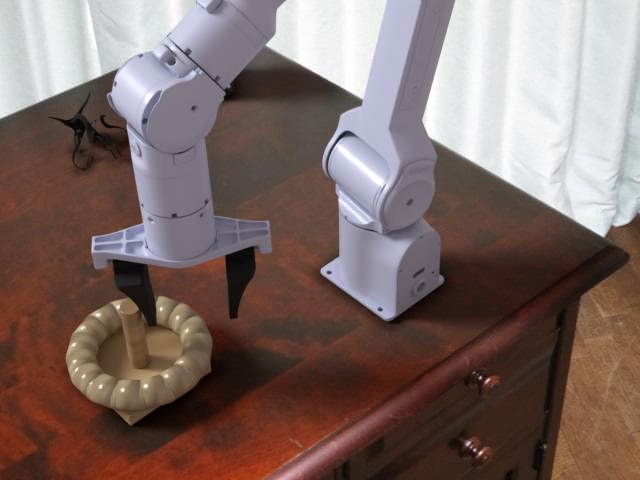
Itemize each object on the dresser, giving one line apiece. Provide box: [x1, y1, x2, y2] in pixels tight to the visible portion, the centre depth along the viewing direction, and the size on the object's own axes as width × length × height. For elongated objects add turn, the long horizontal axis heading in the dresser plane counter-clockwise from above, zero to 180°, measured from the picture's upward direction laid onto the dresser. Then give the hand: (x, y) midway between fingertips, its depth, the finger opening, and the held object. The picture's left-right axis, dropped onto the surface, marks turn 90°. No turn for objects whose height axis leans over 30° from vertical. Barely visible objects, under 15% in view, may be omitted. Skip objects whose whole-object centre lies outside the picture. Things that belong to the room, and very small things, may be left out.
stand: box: [96, 300, 212, 426], centre depth 101 cm, size 9×9×8 cm
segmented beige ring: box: [65, 295, 214, 411], centre depth 102 cm, size 13×13×3 cm
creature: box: [47, 91, 129, 170], centre depth 127 cm, size 8×5×8 cm
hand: (192, 314), depth 100 cm, fingers open, 6 cm apart
